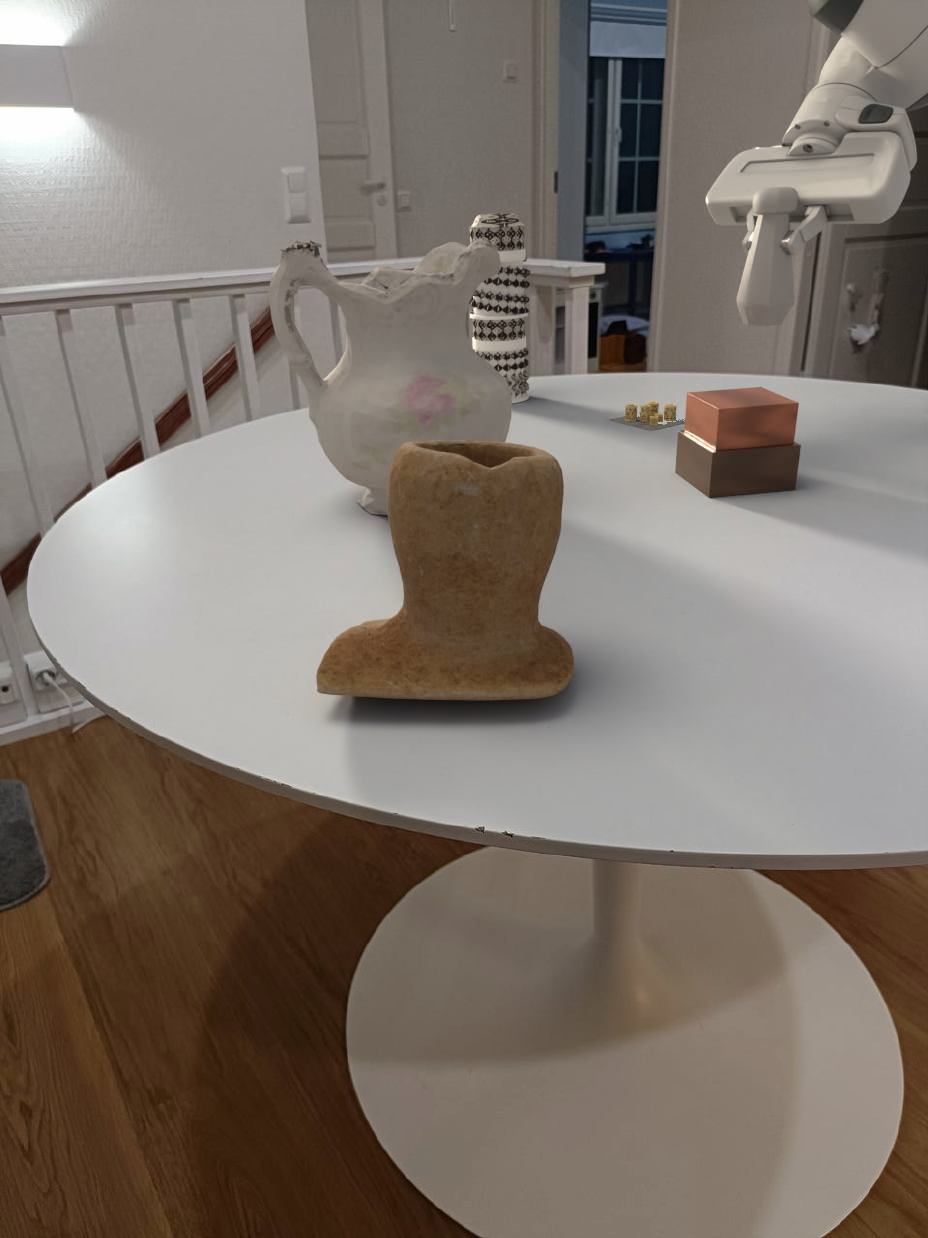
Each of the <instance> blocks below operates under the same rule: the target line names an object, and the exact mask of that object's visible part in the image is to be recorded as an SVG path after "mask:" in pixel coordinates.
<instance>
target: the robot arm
mask: <svg viewBox="0 0 928 1238" xmlns="http://www.w3.org/2000/svg"><path fill="white" fill-rule="evenodd" d="M807 7H808V11H809V15H810V16H811V17H812V18H814V20H817V22H819V23H821V25H823V26H824V27H826V28H827V29H829V30H830V31H831V32H833V33H834V34H836V35H837V36H838V35H840V36H841V37H840V39H838V41H837V43H836V45H835V46H834V48H833V49H832V51H831V52H830V54H829V56H828V58H827V59H826V61H825V62H824V64H823V67H822V68H821V71H820V74H819V78H818V82H817V84H816V85H815V86H814V87H812V89H811V90H810V91H809V92H808V94H806V97H805V98H804V99H803V101H802V103H801V105H800V107H799V108H798V110H797V112H796V114H795V115H794V117H793V119H792V121H791V123H790V124H789V126H788V128H787V129H786V131H785V133H784V134H783V137H782V141H781V143H776V144H770V145H754V146H751V147H749V149H746V150H743V151H741V152H739V153H738V154H737V155H735V156H734V157H733V158H732V159H731V160H730V161H729V162H728V164H727V165H726V166H725V167H724V169H723V170H722V171H721V173H720V174H719V176H718V177H717V179H716V180H715V181H714V182H713V183H712V186H711V187H710V188H709V191H708V192H707V194H706V196H705V204H706V209H707V210H708V212H709V215H710V216H711V218H712V220H713V222H714V223H715V225H718V226H746V229H747V233H746V234H745V236H744V238H743V240H742V242H741V248H742V250H743V252H744V254H745V255H747V256H748V252H749V249H750V247H751V245H752V237H753V233H754V229H755V225H756V222H757V218H758V214H756V213H754V212H753V199H754V195H755V193H756V192H757V191H758V190H761V189H764V188H771V187H791V188H794V189H795V190H796V191H797V192H798V204H797V208H796V211H794V212H791V213H789V219H790V225H797V226H796V227H795V228H794V229H790V230H789V231H788V232H787V233H786V234H785V236H784V237H783V239H782V240H781V241H780V243H779V245H780V247H781V248H782V249H783V250H784V252H785V253H786V254H787V255H792V256H797V255H799V252H800V251H801V249H802V247H803V246H804V244H805V243H807V242H809V240H811V239H812V238H814V237H815V236H817V235H818V234H819V233H821V232H822V231H823V229H824V228H825V226H826V225H863V224H864V225H867V224H869V225H870V224H872V225H879V224H882V223H885V222H886V221H888V220H889V219H891V218H892V217H894V216H895V214H896V213H897V212H898V210H899V208H900V207H901V204H902V202H903V200H904V198H905V196H906V193H907V190H908V188H909V186H910V184H911V183H910V182H911V171H912V170H914V168H915V166H916V164H917V161H918V153H917V144H916V138H915V134H914V131H913V127H912V124H911V120H910V118H909V115H908V112H912V111H915V110H918V109H920V108H924V107H927V106H928V0H807Z"/></svg>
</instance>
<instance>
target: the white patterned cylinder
mask: <svg viewBox="0 0 928 1238" xmlns="http://www.w3.org/2000/svg"><path fill="white" fill-rule="evenodd" d="M525 226H526V224H524V223H523V221H522V220H521V217H520V216H519V215H518V214H517V213H515V212H502V213H501V212H499V213H482V214H478V215H476V217H475V218H474V220H473V222H472V225H470V226H469V227H467V228H468V229H469V241H470V243H469V245H470V244H471V243H473V242H475V241H476V240H478V239H479V238H482V240H483V241H487V242H489V243H492V244H496V245H497V252H498V253H499V255H500V261H501V269H500V271H499V272H498V274H496V275H493V276H491V277H490V278H488V279H487V280H485V281H483V282H482V283H480V285H479V286H478V288H477V289H476V290H475V292H474V294H473V296H472V298H471V300H470V302H469V306H471V307H472V310H470V311H469V312H468V314H469V319H472V332H473V337H472V338H471V339H472V348H473V350H474V351H475V352H476V353H477V354H478V355H479V356H480V357H481V358H483V359H484V360H486V361H487V362H488V363H489V364H490V365H491V366H492V367H493V368H494V369H496V370H497V371H498V372H499V373H500V374H501V375H502V376H503V377H504V378H505V379H506V381H507V384H508V386H509V389H510V391H511V397H512V404H518V403H522V402H526V401H527V400H529V397H530V396H529V393H528V392H527V391H529V389H530V384H529V383H528V380H529V379H530V373H529V371H528V370H526V367H528V366H529V365H530V363H529V359H527V358H525V357H527V356H528V355H529V353H530V351H529V349H528V348H527V335H526V321H525V320H526V319H525V318H526V317H528V316H529V313H530V309H528V308H527V307H526V304H528V303H529V302H530V298H529V296H527V295H526V294H525V293H524V292H525V291H526V290H527V289H528V288H530V286H531V282H529V281H528V280H527V279H526V278H528V277H529V276H530V275H531V271H530V270H529V269H528V268H526V267H524V263H525V262H527V260H528V257H527V256H526V248H525ZM499 246H500V247H499ZM524 279H525V280H524Z"/></svg>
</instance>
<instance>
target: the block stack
mask: <svg viewBox="0 0 928 1238" xmlns="http://www.w3.org/2000/svg"><path fill="white" fill-rule="evenodd" d="M685 401H686V403H685V415H684V417H685V423H684V429H683V430H682V429H681V430H677V439H676V453H675V454H676V456H675V469H674V470H675V471H674V472H675V473H676V474H677V475H678V476H679V477H681V478H682V479H683V480H685V481H686V482H688V483H689V484H690V485H691V486H693V487H694V488H695V489H697V490H698V491H699V492H701V493H702V494H703V495H705V496H706V497H707V498H709V499H710V498H718V497H719V498H720V497H721V498H722V497H731V496H741V495H752V494H764V493H775V492H786V491H796V488H797V480H798V472H799V465H800V457H801V451H802V445H801V444H800V443H797V442H796V441H795V437H796V431H797V422H798V421H797V420H798V413H799V406H800V405H799V404H800V402H798V401H796V400H793V399H791V398H788V397H786V396H783V395H781V394H779V393H776V392H774V391H773V390H772V391H771V390H769V389H766V388H765V387H762V386H755V387H754V386H753V387H741V388H727V389H714V390H701V391H689V392H686V400H685Z"/></svg>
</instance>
